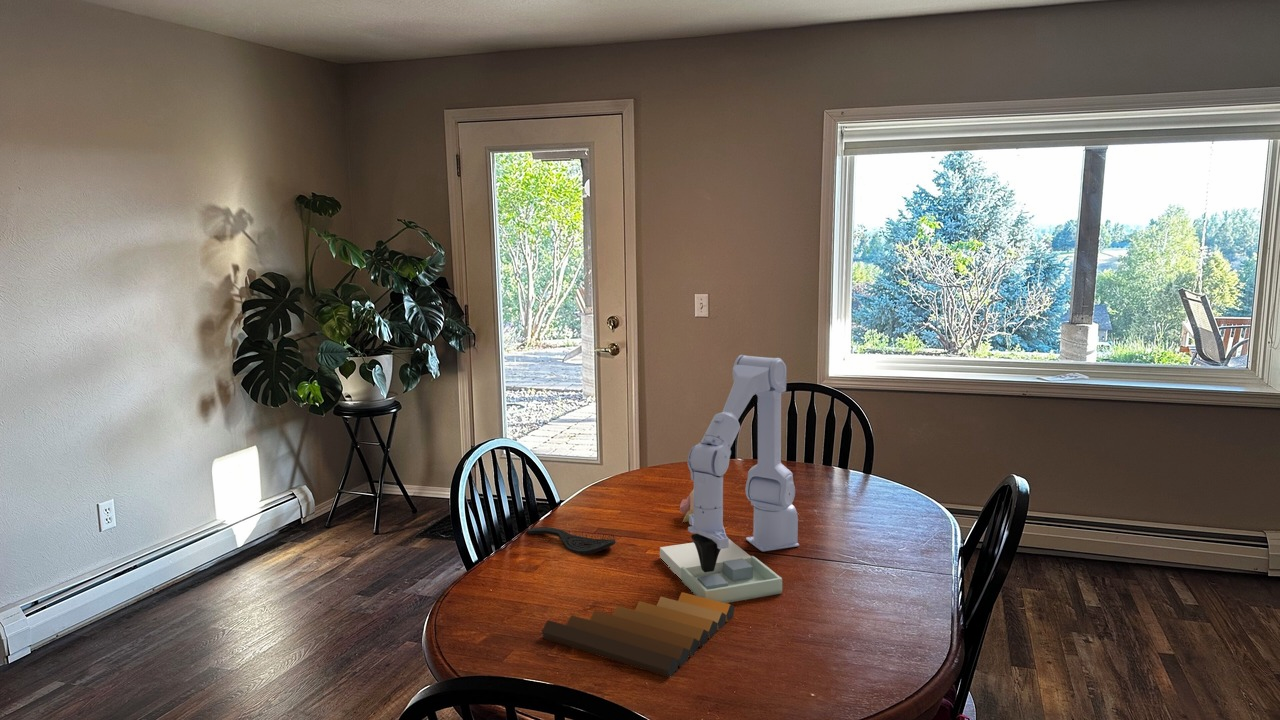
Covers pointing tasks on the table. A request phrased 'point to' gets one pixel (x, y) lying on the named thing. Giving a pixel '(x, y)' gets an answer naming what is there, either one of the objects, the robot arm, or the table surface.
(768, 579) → the box
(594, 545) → the hairbrush
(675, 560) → the board
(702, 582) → the tile outer
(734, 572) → the squat square grey block
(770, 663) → the table surface
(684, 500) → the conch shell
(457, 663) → the table surface
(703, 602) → the pan flute
